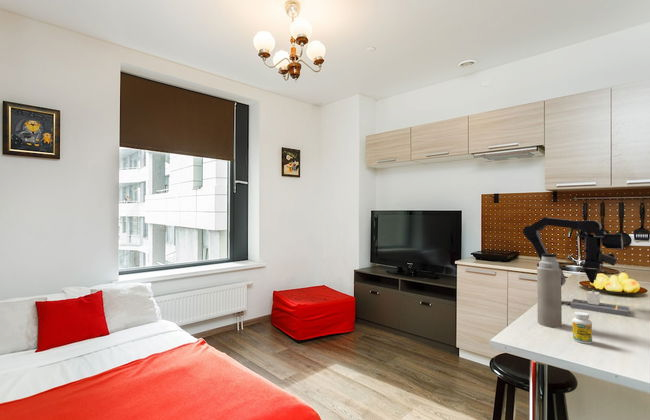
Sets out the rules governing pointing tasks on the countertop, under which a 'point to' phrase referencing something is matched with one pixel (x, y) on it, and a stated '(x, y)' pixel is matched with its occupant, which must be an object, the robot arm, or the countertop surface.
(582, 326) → the supplement bottle
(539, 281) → the thermos bottle
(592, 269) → the robot arm
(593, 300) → the fader cap
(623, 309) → the console board
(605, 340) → the countertop surface
